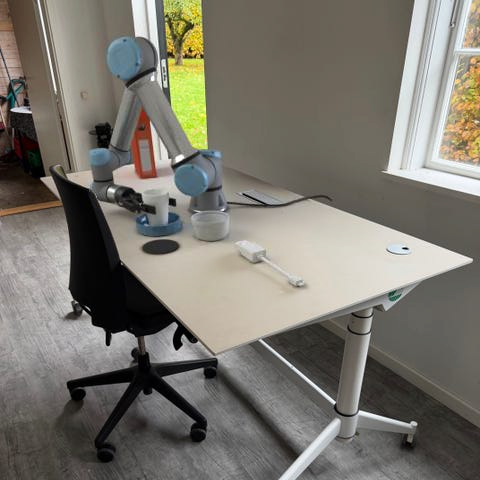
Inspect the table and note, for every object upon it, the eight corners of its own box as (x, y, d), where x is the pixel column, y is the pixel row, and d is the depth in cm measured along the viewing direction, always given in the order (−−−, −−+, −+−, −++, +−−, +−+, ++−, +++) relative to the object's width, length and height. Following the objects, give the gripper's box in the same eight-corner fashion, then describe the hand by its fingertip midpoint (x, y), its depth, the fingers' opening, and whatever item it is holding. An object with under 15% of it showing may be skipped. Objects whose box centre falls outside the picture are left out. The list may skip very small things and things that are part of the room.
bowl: (182, 220, 178) (181, 210, 176) (180, 236, 165) (179, 225, 163) (139, 221, 178) (138, 212, 176) (133, 237, 164) (132, 227, 162)
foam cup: (150, 234, 166) (146, 197, 159) (142, 226, 173) (138, 190, 166) (175, 229, 169) (172, 193, 162) (167, 221, 176) (163, 187, 170)
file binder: (140, 179, 230) (131, 108, 213) (134, 170, 244) (125, 103, 227) (156, 177, 232) (148, 106, 215) (150, 169, 246) (142, 102, 229)
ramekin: (212, 226, 172) (212, 207, 169) (237, 235, 164) (237, 216, 161) (184, 236, 164) (183, 216, 161) (209, 246, 156) (208, 226, 153)
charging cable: (295, 292, 129) (295, 282, 127) (233, 250, 152) (233, 240, 150) (309, 288, 131) (310, 277, 130) (246, 246, 154) (247, 237, 152)
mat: (179, 239, 162) (179, 238, 162) (177, 253, 152) (177, 252, 151) (144, 241, 161) (144, 239, 161) (140, 255, 151) (140, 254, 151)
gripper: (145, 198, 185) (187, 208, 174) (100, 214, 170) (143, 226, 159) (143, 179, 181) (185, 188, 170) (97, 193, 166) (140, 204, 155)
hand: (165, 206), depth 164 cm, fingers closed on foam cup, 9 cm apart
